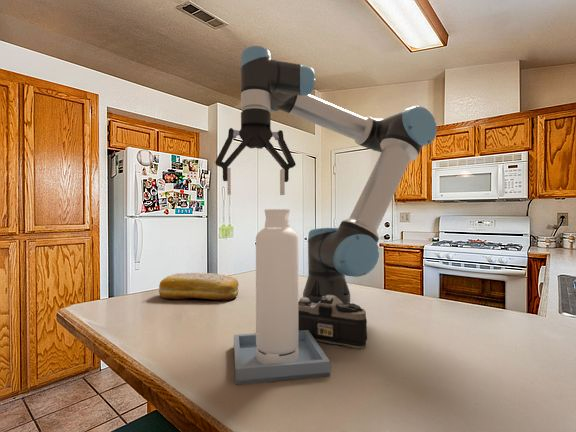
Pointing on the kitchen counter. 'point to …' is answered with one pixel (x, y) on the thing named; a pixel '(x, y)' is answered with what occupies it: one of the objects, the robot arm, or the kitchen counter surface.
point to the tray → (306, 366)
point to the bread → (199, 286)
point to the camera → (333, 321)
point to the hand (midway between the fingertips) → (256, 194)
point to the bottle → (276, 289)
